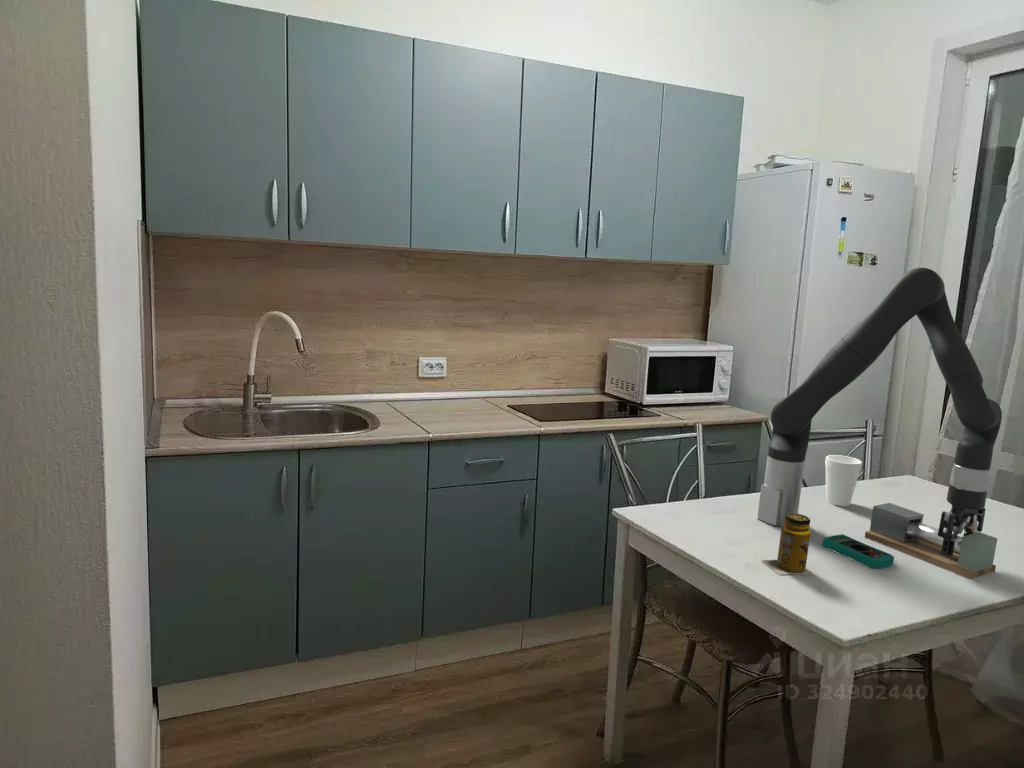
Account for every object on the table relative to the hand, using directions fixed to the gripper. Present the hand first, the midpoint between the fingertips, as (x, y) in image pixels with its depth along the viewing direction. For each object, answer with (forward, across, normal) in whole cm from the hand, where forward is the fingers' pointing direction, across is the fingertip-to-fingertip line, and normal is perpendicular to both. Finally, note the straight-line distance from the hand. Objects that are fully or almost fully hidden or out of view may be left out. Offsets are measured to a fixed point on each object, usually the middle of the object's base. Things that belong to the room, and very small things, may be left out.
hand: (956, 552), depth 169 cm
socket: (+2, 0, +4) cm, 5 cm away
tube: (0, 0, -4) cm, 5 cm away
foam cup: (+3, -13, -41) cm, 43 cm away
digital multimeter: (+4, +18, -13) cm, 22 cm away
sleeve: (+2, 0, -15) cm, 15 cm away
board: (+3, 0, -7) cm, 7 cm away
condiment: (+3, +40, -15) cm, 43 cm away
